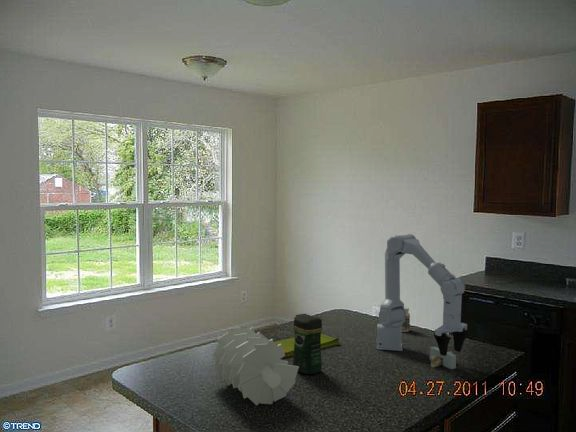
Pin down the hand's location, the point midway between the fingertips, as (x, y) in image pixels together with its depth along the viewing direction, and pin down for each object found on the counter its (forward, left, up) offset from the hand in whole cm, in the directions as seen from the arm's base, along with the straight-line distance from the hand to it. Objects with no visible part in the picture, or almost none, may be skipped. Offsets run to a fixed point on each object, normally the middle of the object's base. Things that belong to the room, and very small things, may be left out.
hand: (450, 353), depth 165 cm
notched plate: (-2, +3, -5) cm, 6 cm away
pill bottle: (-14, +40, -5) cm, 43 cm away
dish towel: (-57, +7, -6) cm, 57 cm away
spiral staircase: (-60, -35, -5) cm, 70 cm away
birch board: (-2, +2, -5) cm, 6 cm away
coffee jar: (-47, -14, -5) cm, 50 cm away
